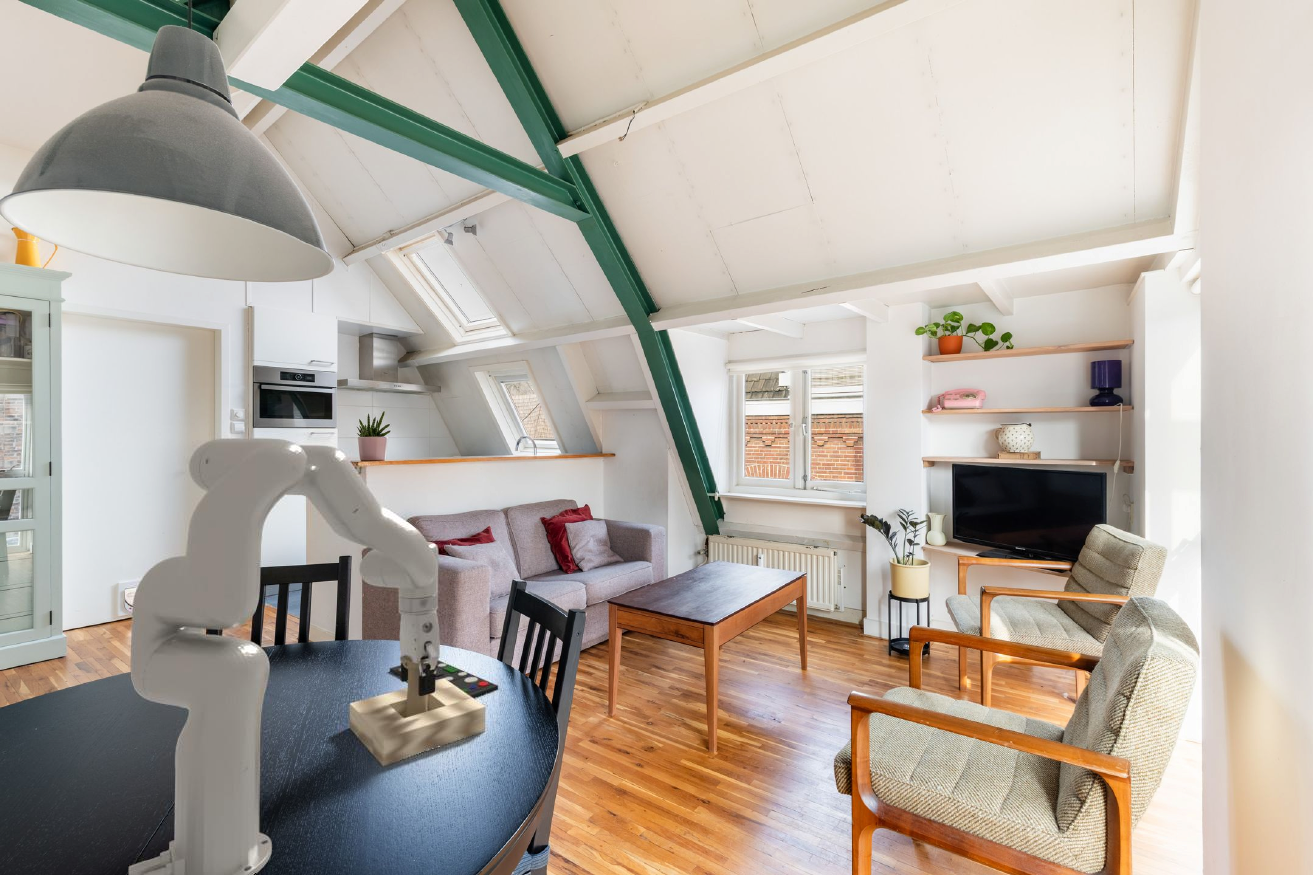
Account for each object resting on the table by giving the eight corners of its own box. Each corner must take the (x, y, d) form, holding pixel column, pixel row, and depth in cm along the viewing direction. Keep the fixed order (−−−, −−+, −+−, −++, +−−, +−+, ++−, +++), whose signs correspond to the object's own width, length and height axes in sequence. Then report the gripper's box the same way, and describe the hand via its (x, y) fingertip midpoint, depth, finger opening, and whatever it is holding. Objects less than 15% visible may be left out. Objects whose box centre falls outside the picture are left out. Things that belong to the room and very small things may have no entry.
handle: (416, 739, 120) (415, 663, 120) (397, 730, 124) (396, 657, 124) (437, 729, 124) (436, 656, 124) (417, 721, 128) (417, 650, 128)
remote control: (456, 707, 136) (456, 698, 136) (389, 673, 155) (389, 666, 155) (498, 691, 145) (498, 683, 145) (429, 661, 164) (429, 654, 164)
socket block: (383, 766, 110) (383, 738, 110) (349, 727, 125) (349, 703, 125) (485, 731, 124) (485, 706, 124) (443, 700, 138) (444, 678, 138)
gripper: (454, 608, 121) (453, 694, 120) (420, 592, 133) (419, 670, 133) (416, 615, 115) (415, 705, 115) (384, 597, 128) (383, 679, 128)
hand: (417, 686), depth 124 cm, fingers open, 9 cm apart
